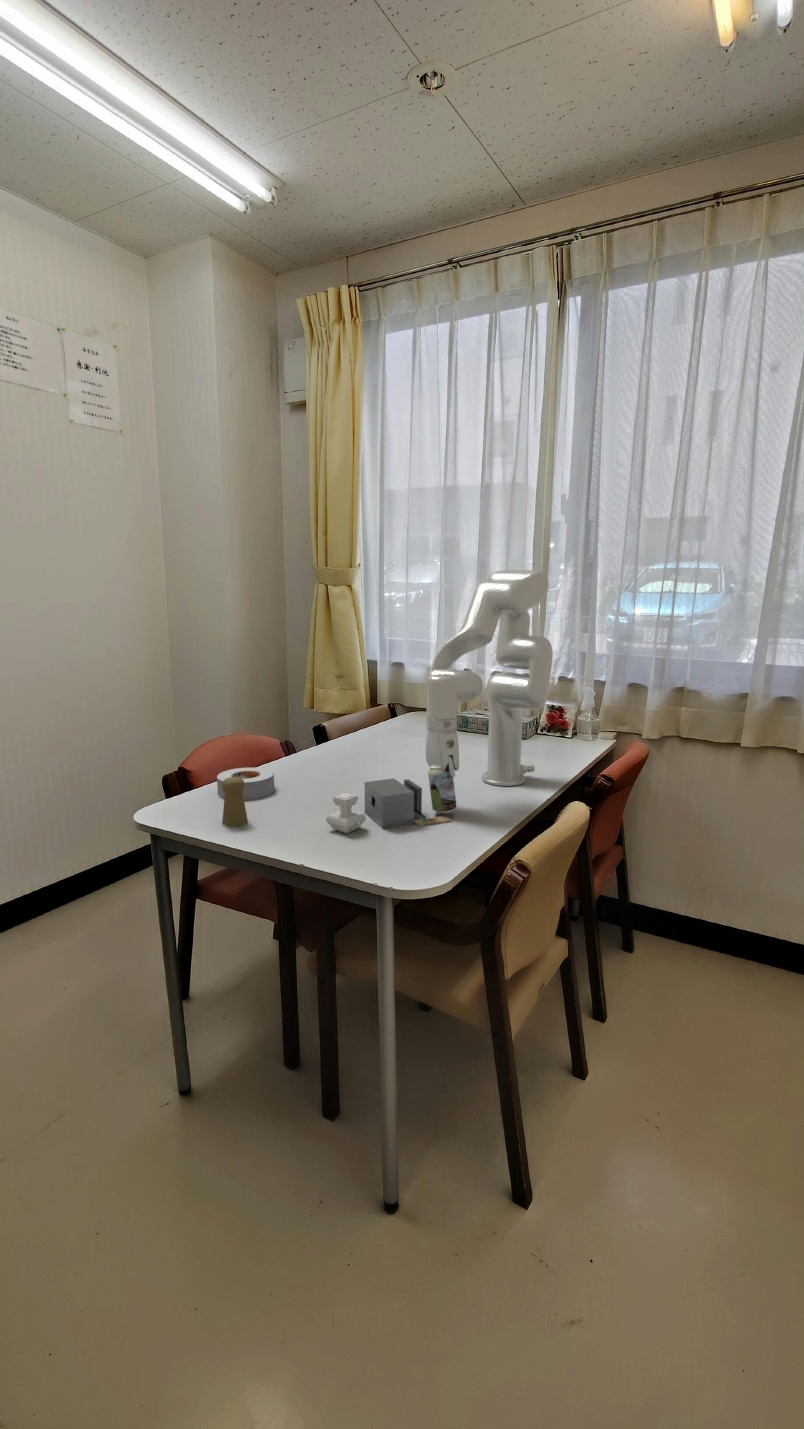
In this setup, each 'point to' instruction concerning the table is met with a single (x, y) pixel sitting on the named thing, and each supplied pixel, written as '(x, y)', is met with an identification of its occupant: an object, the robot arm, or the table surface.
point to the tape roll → (250, 782)
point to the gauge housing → (389, 803)
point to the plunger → (415, 796)
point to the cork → (234, 802)
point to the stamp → (345, 814)
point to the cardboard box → (432, 821)
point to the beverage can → (441, 790)
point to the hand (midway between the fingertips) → (440, 794)
